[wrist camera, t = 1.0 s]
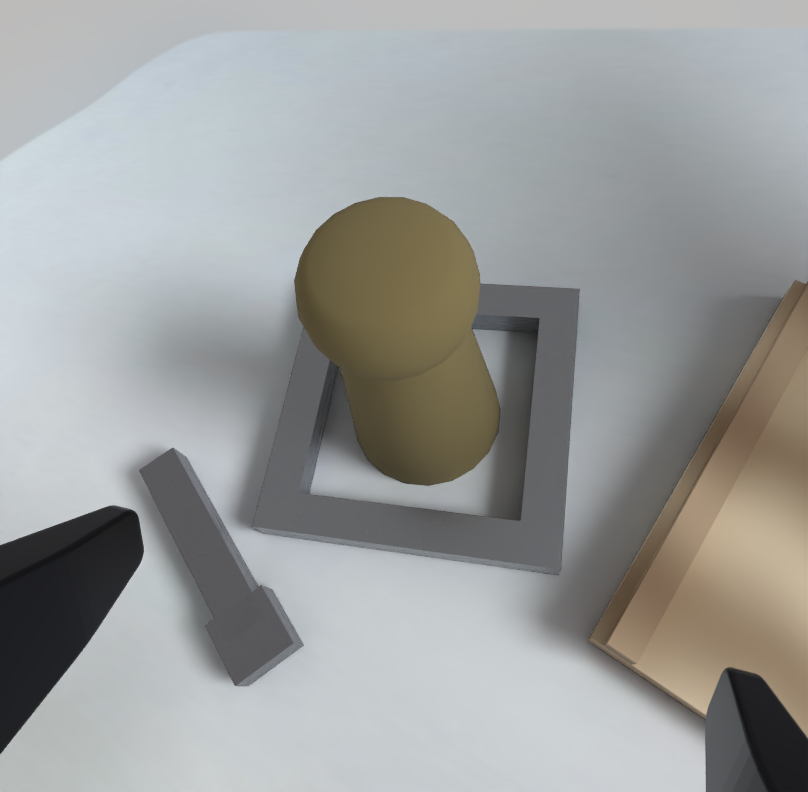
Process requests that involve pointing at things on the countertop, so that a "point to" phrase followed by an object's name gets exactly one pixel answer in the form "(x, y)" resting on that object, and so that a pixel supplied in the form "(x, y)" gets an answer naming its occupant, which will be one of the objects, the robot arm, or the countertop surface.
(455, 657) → the countertop surface
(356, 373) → the cork
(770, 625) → the tray
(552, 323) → the socket collar
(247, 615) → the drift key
